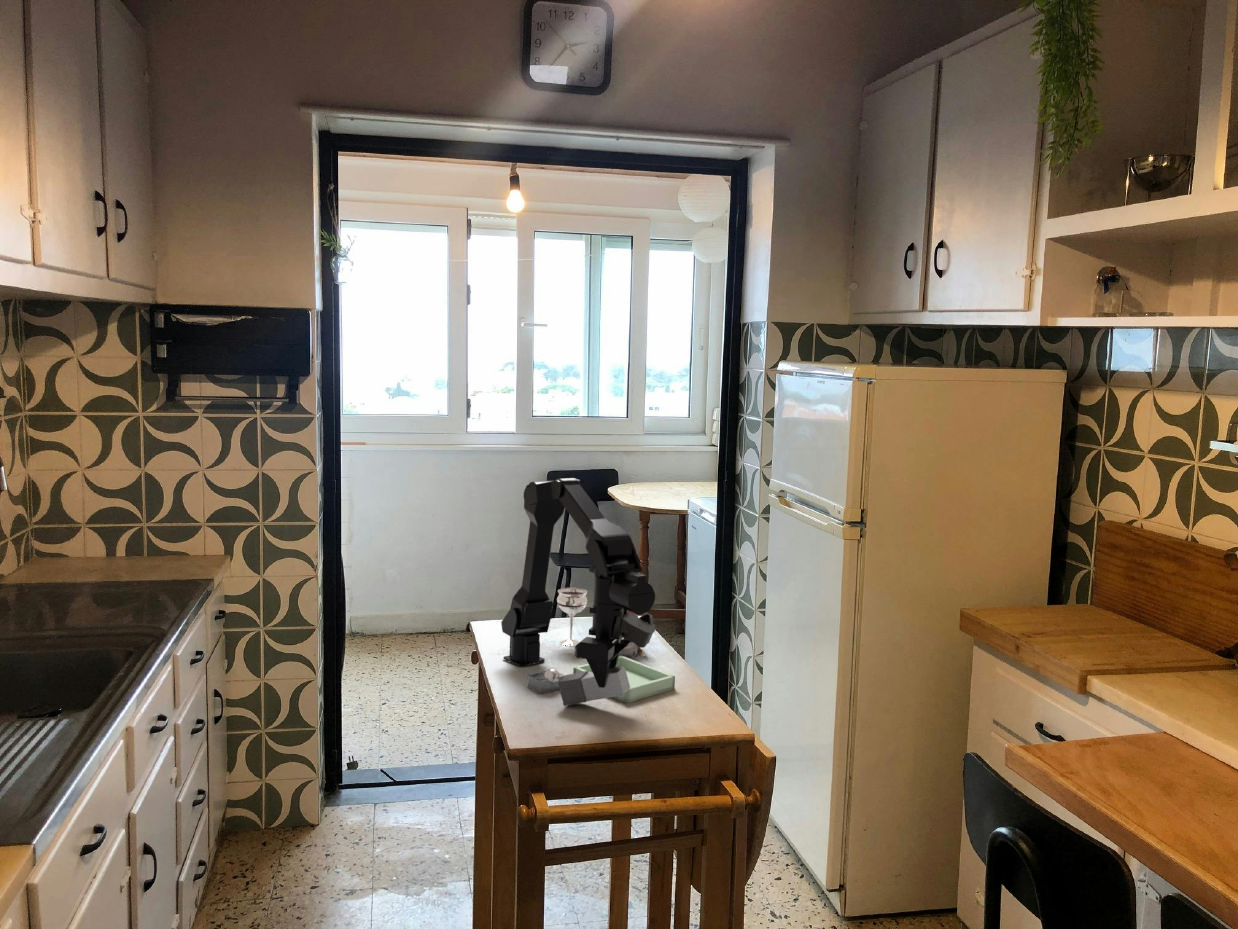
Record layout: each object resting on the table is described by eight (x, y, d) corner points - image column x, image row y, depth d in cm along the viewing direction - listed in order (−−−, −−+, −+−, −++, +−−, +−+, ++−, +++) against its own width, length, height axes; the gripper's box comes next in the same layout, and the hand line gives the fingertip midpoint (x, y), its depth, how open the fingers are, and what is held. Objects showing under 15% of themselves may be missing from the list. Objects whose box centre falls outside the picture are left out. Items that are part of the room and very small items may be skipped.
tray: (572, 679, 191) (573, 667, 191) (620, 667, 200) (621, 655, 199) (626, 703, 179) (626, 689, 179) (674, 689, 188) (675, 676, 188)
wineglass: (589, 646, 213) (591, 594, 211) (559, 648, 211) (561, 595, 209) (581, 638, 219) (583, 587, 218) (552, 639, 217) (554, 588, 216)
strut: (563, 706, 176) (557, 682, 176) (572, 697, 180) (566, 675, 180) (623, 695, 172) (616, 671, 172) (630, 687, 176) (624, 663, 176)
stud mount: (527, 687, 186) (528, 667, 185) (551, 681, 190) (552, 661, 189) (543, 695, 182) (544, 674, 181) (568, 688, 186) (568, 668, 185)
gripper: (636, 619, 162) (632, 707, 164) (665, 594, 180) (661, 674, 181) (575, 611, 165) (572, 697, 167) (609, 587, 183) (605, 666, 185)
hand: (605, 683), depth 175 cm, fingers closed on strut, 4 cm apart
